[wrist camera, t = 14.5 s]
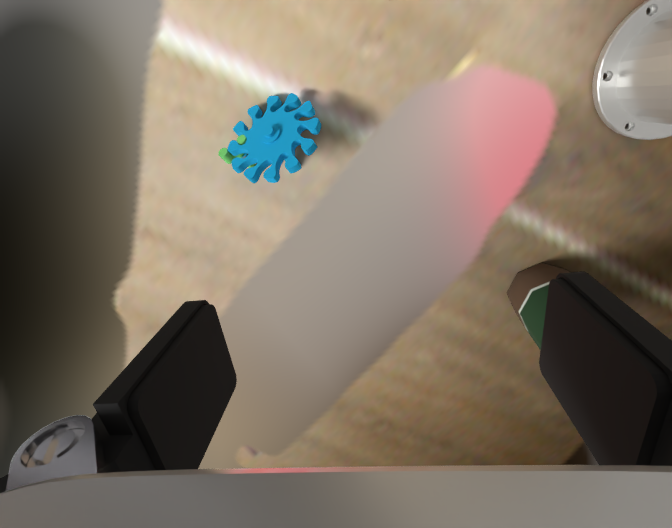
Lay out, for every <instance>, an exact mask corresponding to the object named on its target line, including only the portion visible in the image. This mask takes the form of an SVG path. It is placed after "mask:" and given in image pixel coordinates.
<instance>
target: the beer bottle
mask: <svg viewBox="0 0 672 528" xmlns="http://www.w3.org/2000/svg"><path fill="white" fill-rule="evenodd" d="M559 273H570V272H569V271H567V270H566V269H563V268H559V267H555V266H552V265H548V264H544V263H539V264H537V265H535V266H532V267H530V268H528V269H525V270H523V271H521V272H518V273H517V275H516V277H515V278H514V280H513V282H512V284H511V286H510V288H509V290H508V292H507V295H508V297H509V299H510V301H511V304H512V306H513V308H514V310H515V312H516V314H517V316H518V317H519V319H520V321H521V322H522V324H523V325H524V327H525V328H526V330H527V331H528V332H529V334H530V335H531V337H532V338H533V340H534V341H535V343H536V344H537V346H538V347H539V349H540V350H541V344H542V336H543V328H544V320H545V312H546V304H547V296H548V288H549V283H550V281H551V280H552V279H556V277H557V275H558V274H559Z"/></svg>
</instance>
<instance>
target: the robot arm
mask: <svg viewBox="0 0 672 528" xmlns="http://www.w3.org/2000/svg"><path fill="white" fill-rule="evenodd" d="M646 10H647V14H646ZM603 74H604V75H605V77H604V78H603ZM593 99H594V104H595V108H596V110H597V112H598V114H599V116H600V118H601V119H602V120H603V122H604V123H605V124H606V125H607V126H608V127H609V128H610V129H612V130H613V131H614V132H616V133H618V134H621V135H623V136H626V137H630V138H635V139H646V140H652V139H661V138H666V137H669V136H672V0H646V1H645V2H643V3H642V4H641V5H639V6H638V7H637V8H636V9H634V10H633V11H632V12H631V13H630V14H629V15H628V16H627V17H626V18H625V19H624V20H623V21H622V22H621V23H620V24H619V25H618V26H617V27H616V29H615V30H614V31H613V33H612V34H611V36H610V37H609V38H608V40H607V42H606V44H605V46H604V47H603V49H602V51H601V53H600V56H599V58H598V61H597V64H596V67H595V71H594V77H593ZM625 125H626V127H625ZM539 364H540V370H541V373H542V375H543V376H544V378H545V380H546V381H547V383H548V384H549V386H550V388H551V389H552V391H553V392H554V394H555V396H556V397H557V399H558V400H559V402H560V403H561V405H562V407H563V408H564V410H565V411H566V413H567V415H568V416H569V418H570V419H571V421H572V423H573V424H574V426H575V427H576V429H577V431H578V432H579V434H580V435H581V437H582V438H583V440H584V442H585V443H586V445H587V446H588V448H589V450H590V451H591V453H592V454H593V456H594V457H595V459H596V461H597V462H598V464H599V465H493V466H379V467H300V468H243V469H198V467H199V465H200V463H201V461H202V459H203V457H204V454H205V452H206V450H207V448H208V446H209V443H210V441H211V439H212V437H213V435H214V432H215V431H216V428H217V426H218V424H219V422H220V420H221V418H222V415H223V413H224V411H225V409H226V407H227V404H228V402H229V400H230V398H231V396H232V393H233V391H234V389H235V387H236V373H235V370H234V367H233V364H232V361H231V357H230V354H229V351H228V348H227V344H226V341H225V338H224V335H223V332H222V328H221V325H220V322H219V319H218V316H217V312H216V309H215V307H214V306H213V305H212V304H211V305H209V303H208V302H207V301H206V300H200V301H188V302H185V303H184V304H183V305H182V306H181V307H180V308H179V309H178V310H177V311H176V312H175V314H174V315H173V316H172V317H171V318H170V319H169V320H168V321H167V322H166V324H165V325H164V326H163V327H162V328H161V329H160V330H159V331H158V332H157V334H156V335H155V336H154V337H153V338H152V339H151V340H150V341H149V342H148V344H147V345H146V346H145V347H144V348H143V349H142V350H141V351H140V352H139V354H138V355H137V356H136V357H135V358H134V359H133V360H132V361H131V362H130V364H129V365H128V366H127V367H126V368H125V369H124V370H123V371H122V372H121V374H120V375H119V376H118V377H117V378H116V379H115V380H114V381H113V382H112V384H111V385H110V386H109V387H108V388H107V389H106V390H105V391H104V392H103V394H102V395H101V396H100V397H99V398H98V399H97V400H96V401H95V402H94V404H93V406H94V408H95V409H96V411H97V413H96V415H95V416H94V417H93V418H92V419H91V418H88V417H87V416H85V415H75V416H70V417H66V418H63V419H60V420H58V421H55V422H53V423H51V424H50V425H48V426H46V427H44V428H42V429H41V430H40V431H38V432H37V433H35V434H34V435H32V436H31V437H30V438H29V439H28V440H27V441H26V442H24V443H23V444H22V445H21V447H20V448H19V449H18V451H17V452H16V453H15V454H14V457H13V459H12V461H11V465H10V470H9V474H8V475H6V476H4V477H2V478H0V528H672V341H671V340H670V339H669V338H668V337H666V336H665V335H664V334H663V333H661V332H660V331H659V330H658V329H656V328H655V327H654V326H653V325H651V324H650V323H649V322H648V321H646V320H645V319H644V318H643V317H641V316H640V315H639V314H638V313H636V312H635V311H634V310H633V309H631V308H630V307H629V306H628V305H626V304H625V303H624V302H623V301H621V300H620V299H619V298H618V297H616V296H615V295H614V294H613V293H611V292H610V291H609V290H608V289H606V288H605V287H604V286H603V285H601V284H600V283H599V282H598V281H596V280H595V279H594V278H593V277H591V276H590V275H589V274H588V273H586V272H571V273H559V274H558V275H557V277H556V279H552V280H551V281H550V283H549V288H548V296H547V304H546V312H545V320H544V328H543V336H542V344H541V352H540V360H539Z"/></svg>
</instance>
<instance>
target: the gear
mask: <svg viewBox="0 0 672 528" xmlns="http://www.w3.org/2000/svg"><path fill="white" fill-rule="evenodd" d="M281 105H282V101H281V100H280V98H279V97H278V96H269V97H268V99H267V110H266V112H265V114H264V115H263V117H262V114H263V112H262V110H261V109H260V108H259V106H258V105H255V106H253V107H251V108H249V109H248V114H249V115H250V116H251V118H252V120H253V124H252V128H251V129H250V130H248V127H247V126H246V125H245V124H244V123H243V122H242V121H240V122H238V123H237V124H236V126H235V127H234V128H233V130H234V131H235V133H236V134H237V135H238V136H239V137H238V138H237V141H235V140H232V141H231V142H230V144H229V146H228V150H227V149H226V148H222V149H221V150H220V151H219V156H220V157H221V158H222V159H223V160H224V161H225V162H226V163H228V164H231V163H232V167H233V169H234V170H235V171H236V172H237V173H241V172H243V171H244V170H245V169H246V168H247V167H249V168H248V169H246V170H245V172H244V175H245V176H246V177H247V178H248V179H249V180H250V181H251V182H252V183H256V182H257V181H258V180H259V177H260V175H261V173H262V172H263V171H264V170H265V169H266V168H267V167H268V166H269V165H271V164H272V165H271V167H270V168H268V169H267V170H266V171H265V172H264V178H265V179H266V180H267V181H268V182H272V183H275V182H278V181H279V179H280V175H279V170H280V166H281V164H282V162H283V161H284V160H285V161H286V163H285V167H286V169H287V170H288V171H289V172H290V173H294V172H297V171H298V170H300V169H301V164H300V163H299V161H298V160H297V159H296V157H295V149H296V147H297V146H299V145H301V148H302V150H303V151H304V152H305V154H306V155H308V156H310V155H311V154H312V153H313V152H314V151H315V150H316V148H317V146H316V144H315V142H314V141H313V140H312V139H307V138H303V137H302V136H300V135H301V133H302V131H304V130H309V131H310V132H311V133H312V134H313V135H317V134H319V132H320V129H321V123H320V121H319V119H318V118H312V119H310V120H306V121H299V119H300V118H301V117H307V118H310V117H313V116H314V115H315V110H314V108H313V106H312V104H311V102H310V101H306V102H305V103H303V105H302V106H300V105H301V101H300V100H299V98H298V97H297V95H295V94H293V93H291V94H289V95H288V96H287V99H286V101H285V103H284V104H283V105H282V106H281ZM299 106H300V107H299ZM298 107H299V108H298ZM296 108H298V109H296ZM277 109H278V110H277ZM293 109H296V110H294V111H291V110H293ZM276 110H277V111H276ZM289 111H291V112H289ZM261 117H262V118H261ZM255 163H257V165H255Z"/></svg>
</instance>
